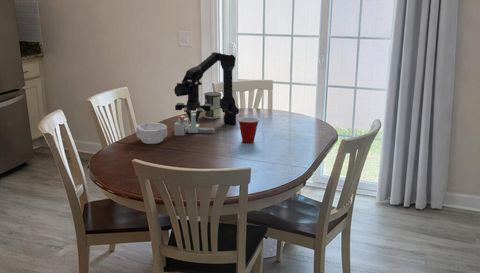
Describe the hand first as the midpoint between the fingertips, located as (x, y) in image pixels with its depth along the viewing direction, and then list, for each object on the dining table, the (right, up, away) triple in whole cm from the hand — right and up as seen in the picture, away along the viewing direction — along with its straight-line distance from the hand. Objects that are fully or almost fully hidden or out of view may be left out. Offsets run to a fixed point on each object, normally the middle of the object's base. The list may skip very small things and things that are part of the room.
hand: (193, 122), depth 262 cm
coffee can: (+8, +5, +35) cm, 36 cm away
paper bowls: (-19, -10, -15) cm, 27 cm away
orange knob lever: (-7, -1, +1) cm, 7 cm away
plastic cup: (+29, -10, -14) cm, 34 cm away
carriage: (0, -5, +1) cm, 5 cm away
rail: (+4, -5, +1) cm, 6 cm away
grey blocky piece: (-7, -5, +2) cm, 8 cm away
